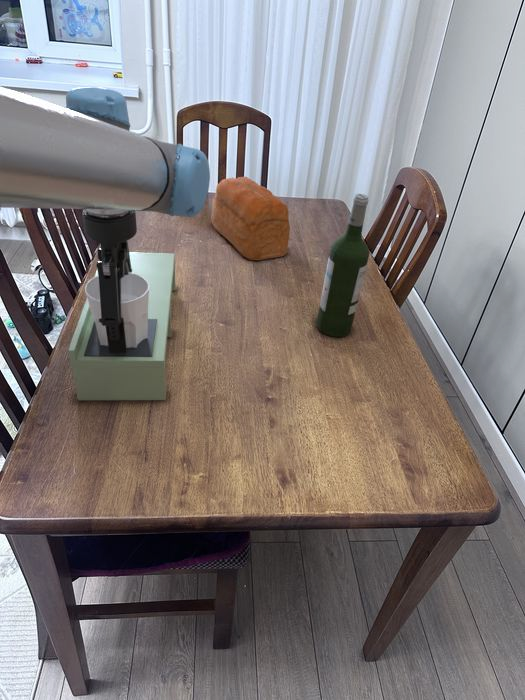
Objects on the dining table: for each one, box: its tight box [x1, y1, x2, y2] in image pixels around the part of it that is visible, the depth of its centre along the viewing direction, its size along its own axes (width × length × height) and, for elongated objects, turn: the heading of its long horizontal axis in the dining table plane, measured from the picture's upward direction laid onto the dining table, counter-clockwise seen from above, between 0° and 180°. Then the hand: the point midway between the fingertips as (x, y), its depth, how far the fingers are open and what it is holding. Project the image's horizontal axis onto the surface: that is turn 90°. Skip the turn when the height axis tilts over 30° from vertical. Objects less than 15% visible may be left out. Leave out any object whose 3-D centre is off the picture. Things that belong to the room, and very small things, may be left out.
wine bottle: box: [316, 193, 370, 338], centre depth 100 cm, size 8×8×30 cm
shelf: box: [67, 251, 177, 401], centre depth 97 cm, size 39×15×11 cm, turn 5°
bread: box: [210, 176, 291, 261], centre depth 137 cm, size 14×27×15 cm, turn 29°
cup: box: [84, 272, 149, 348], centre depth 82 cm, size 10×10×10 cm
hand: (122, 332), depth 84 cm, fingers closed on cup, 10 cm apart
